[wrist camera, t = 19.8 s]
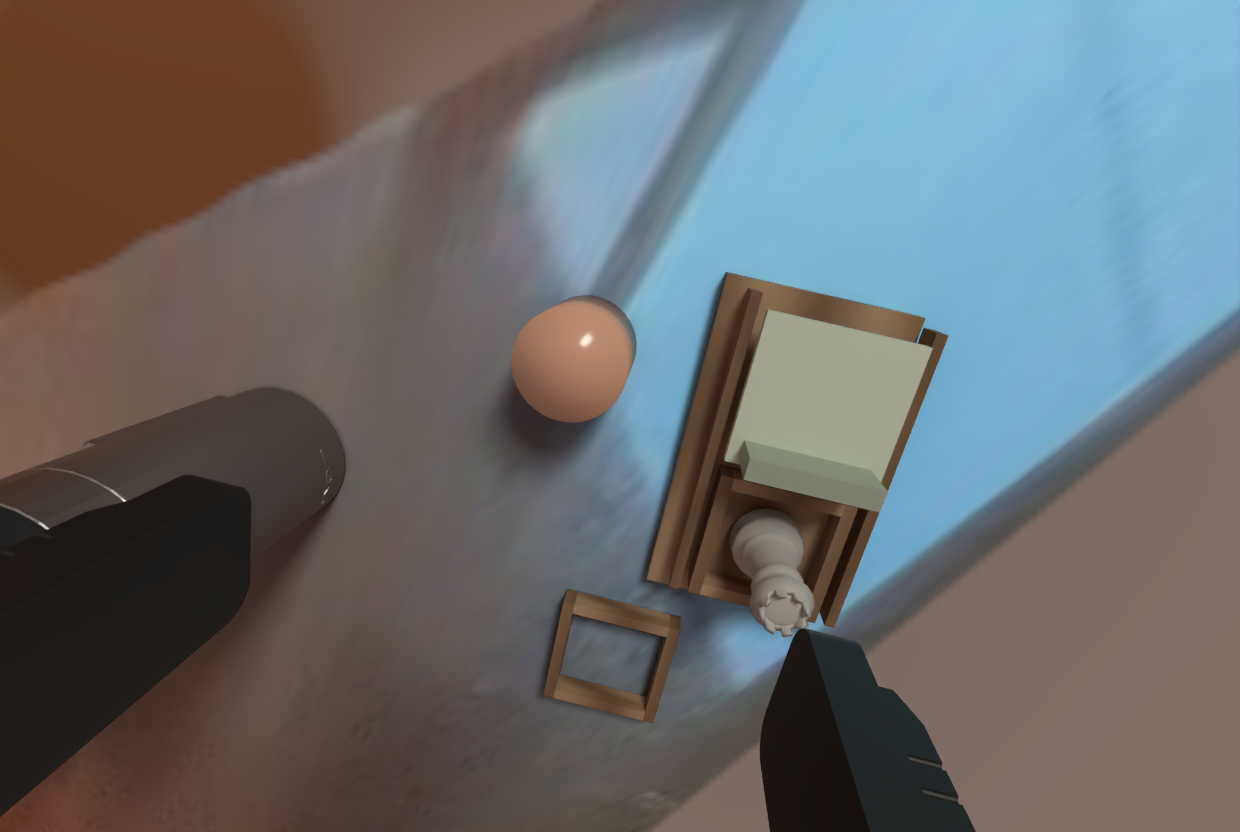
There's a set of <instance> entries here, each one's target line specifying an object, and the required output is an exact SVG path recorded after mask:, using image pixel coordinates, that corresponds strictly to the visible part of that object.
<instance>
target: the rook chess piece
mask: <svg viewBox="0 0 1240 832" xmlns="http://www.w3.org/2000/svg"><path fill="white" fill-rule="evenodd" d="M729 543H730V549H731V552H732V556H733V559H734V561H735V562H736V564H737V565H738V567H739V568H740V570H741V571H742V572H744V573H745V574H747V575H748V576H749V577H751V578H752V583H751V591H752V594H751V598H750V601H749V604H750V610H751V613H752V615H753V616H754V618H755V619H756V621H757V622H758V623H760V624H761V625H763V626H764V627H765V630H767V631H768V632H770V633H771V634H774V632H775V630H777V631H781V633H782V637H787V636H792V632H791V630H792V629H795V628H798V629H801V628H806V627H807V626H808V624H807V620H808V619H809V618H810V617H811V615H812V612H813V609H814V606H815V605H814V596H813V594H812V592H811V591H810V589H809V588H808V586H807V585H806V584H804V581H803V579H802V577H801V575H800V574H799V572H798V571H797V567H798V566H799V565H800V562H801V559H802V557H803V554H804V545H803V538H802V534H801V530H800V528H799V526H798V525H797V523H796V522H795V520H794V519H793V518H791V517H790V516H788V515H787V514H786V513H784V512H783V511H778V510H774V509H770V508H766V509H758V510H753V511H751V512H749V513H747V514H745V515H743V516H741V517H740V519H739V520H738V521H737V522H736V523H735V524H734V526H733V527H732V530H731V534H730V537H729Z"/></svg>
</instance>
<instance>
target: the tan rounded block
mask: <svg viewBox="0 0 1240 832" xmlns="http://www.w3.org/2000/svg"><path fill="white" fill-rule="evenodd" d="M635 356H636V337H635V332H634V329H633V327H632V324H631V323H630V321H629V319H628V318H627V316H626V315H625V314H624V312H623V311H622V310H621V309H620V308H618V307H617V306H616V305H615V304H613V303H611V302H610V301H608V300H606V299H603V298H600V297H596V296H589V295H583V296H576V297H572V298H569V299H566V300H564V301H563V302H561V303H559V304H557V305H555V306H554V307H552V308H550V309H548V310H546V311H545V312H543V313H541V314H539V315H537V316H536V317H534V318H533V319H532V320H530V321H529V322H528V323H527V324H526V325H525V326H524V328H523V329H522V330H521V332H520V333H519V335H518V337H517V339H516V341H515V344H514V347H513V351H512V359H511V362H512V373H513V377H514V381H515V383H516V386H517V388H518V390H519V392H520V393H521V395H522V396H523V398H524V399H525V400H526V402H527V403H528V404H529V405H530V406H531V407H533V408H534V409H535V410H536V411H538V412H539V413H541V414H542V415H544V416H546V417H548V418H551V419H554V420H557V421H562V422H572V423H573V422H582V421H587V420H590V419H593V418H595V417H597V416H599V415H601V414H603V413H604V412H606V411H607V410H608V409H609V408H610V407H611V406H612V405H613V404H614V403H615V402H616V401H617V399H618V397H619V396H620V394H621V392H622V390H623V388H624V385H625V383H626V380H627V378H628V375H629V373H630V370H631V368H632V365H633V363H634V360H635Z"/></svg>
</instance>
